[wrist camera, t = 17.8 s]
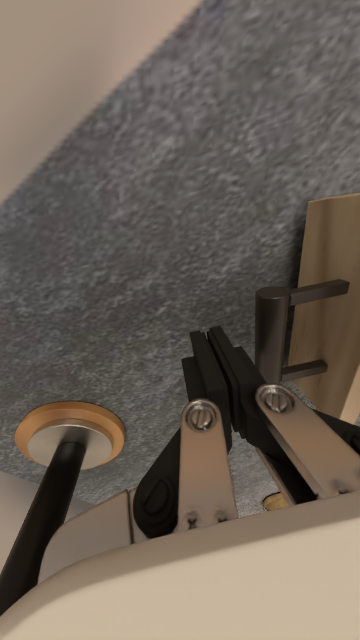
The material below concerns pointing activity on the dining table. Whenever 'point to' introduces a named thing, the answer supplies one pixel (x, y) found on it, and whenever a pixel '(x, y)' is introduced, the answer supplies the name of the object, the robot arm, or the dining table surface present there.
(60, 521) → the rod on disc base
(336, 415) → the drawer
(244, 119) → the dining table surface
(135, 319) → the dining table surface
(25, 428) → the disc
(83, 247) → the dining table surface
